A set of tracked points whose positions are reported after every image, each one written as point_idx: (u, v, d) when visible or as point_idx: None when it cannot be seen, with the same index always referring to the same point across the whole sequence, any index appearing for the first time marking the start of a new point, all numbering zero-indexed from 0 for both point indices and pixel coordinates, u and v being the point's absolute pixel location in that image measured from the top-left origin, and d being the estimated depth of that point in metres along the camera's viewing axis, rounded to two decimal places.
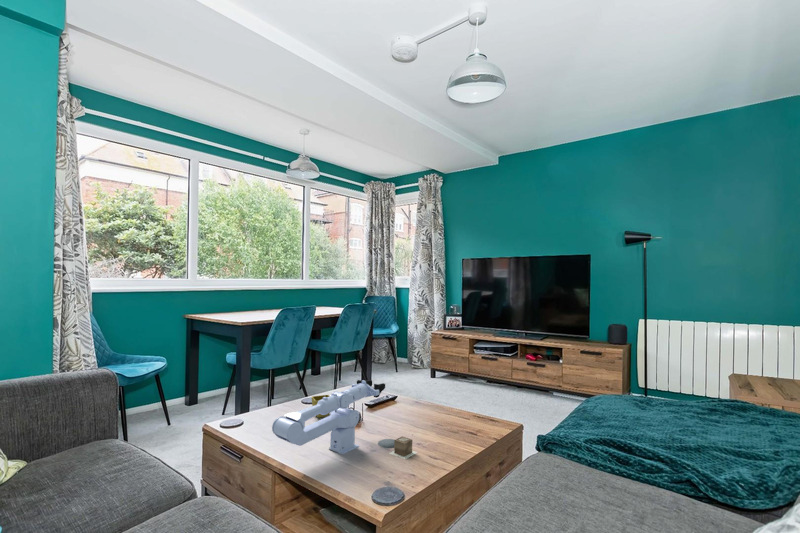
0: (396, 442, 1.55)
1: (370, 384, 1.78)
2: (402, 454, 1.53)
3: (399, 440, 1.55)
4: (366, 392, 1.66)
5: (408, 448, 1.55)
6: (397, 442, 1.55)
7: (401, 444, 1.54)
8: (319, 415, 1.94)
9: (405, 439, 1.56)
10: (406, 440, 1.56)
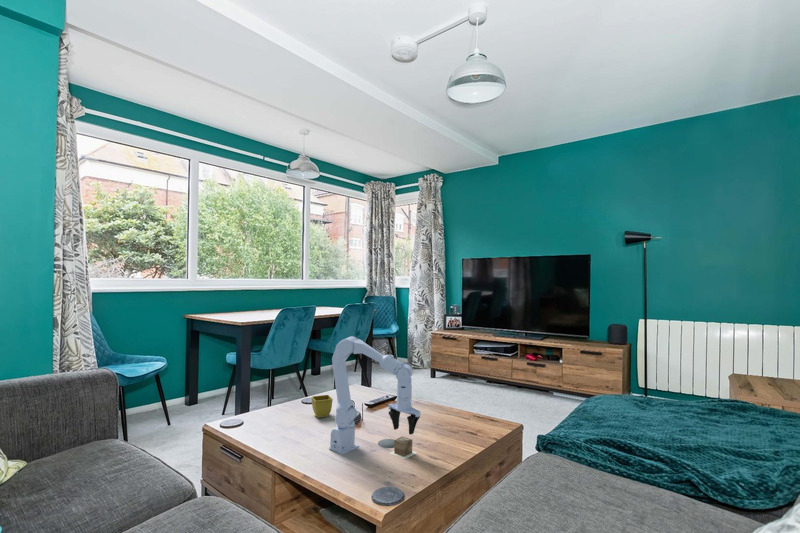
0: (396, 442, 1.55)
1: (396, 426, 1.58)
2: (402, 454, 1.53)
3: (399, 440, 1.55)
4: (409, 406, 1.55)
5: (408, 448, 1.55)
6: (397, 442, 1.55)
7: (401, 444, 1.54)
8: (319, 415, 1.94)
9: (405, 439, 1.56)
10: (406, 440, 1.56)
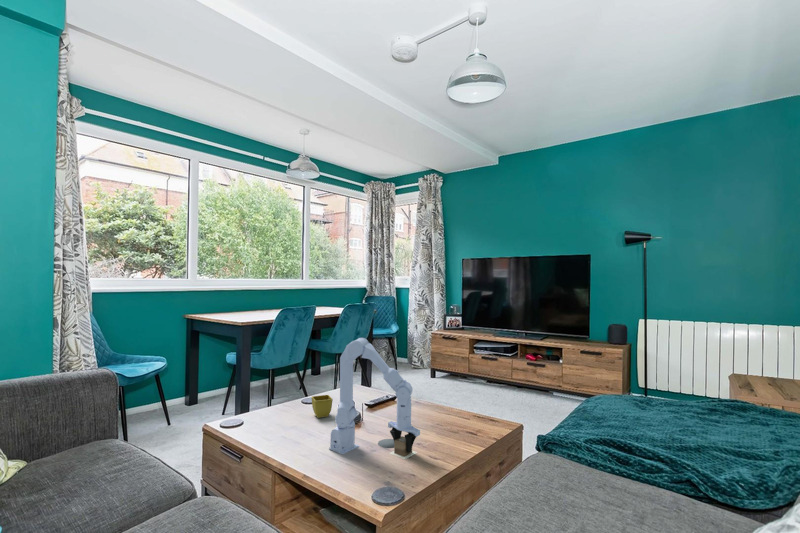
0: (396, 442, 1.55)
1: None
2: (402, 454, 1.53)
3: (399, 440, 1.55)
4: (409, 424, 1.55)
5: None
6: (397, 442, 1.55)
7: (401, 444, 1.54)
8: (319, 415, 1.94)
9: (405, 439, 1.56)
10: None
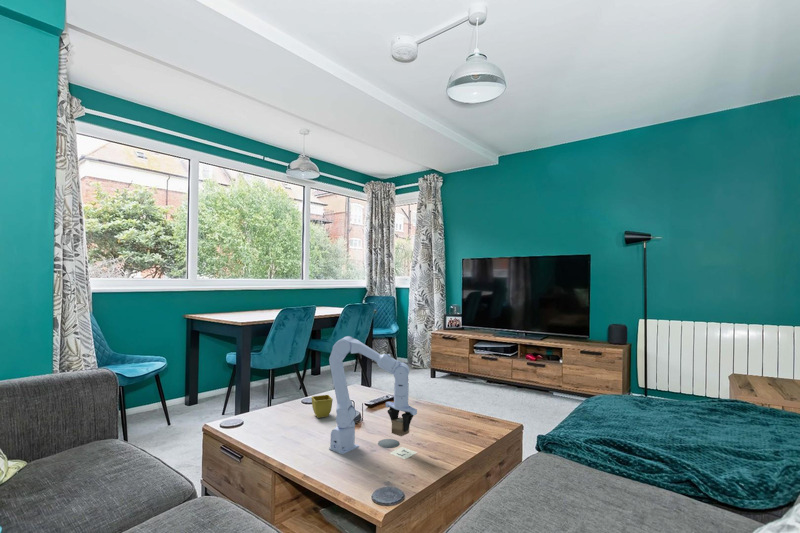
0: (393, 422, 1.57)
1: None
2: (399, 434, 1.55)
3: (396, 420, 1.57)
4: (406, 404, 1.57)
5: None
6: (394, 422, 1.57)
7: (398, 424, 1.56)
8: (319, 415, 1.94)
9: (402, 420, 1.58)
10: None
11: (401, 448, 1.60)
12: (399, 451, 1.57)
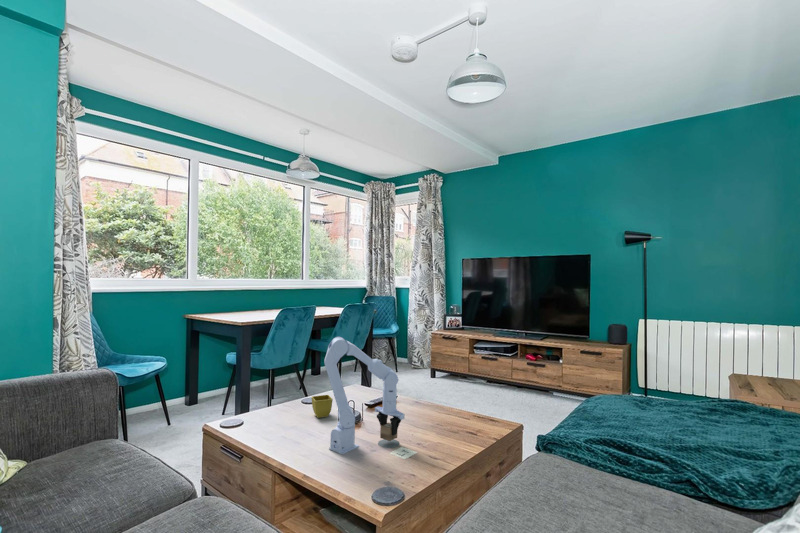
0: (382, 427, 1.64)
1: None
2: (387, 439, 1.62)
3: (385, 426, 1.64)
4: (394, 409, 1.63)
5: None
6: (382, 428, 1.64)
7: (386, 429, 1.62)
8: (319, 415, 1.94)
9: (390, 425, 1.65)
10: None
11: (401, 448, 1.60)
12: (399, 451, 1.57)
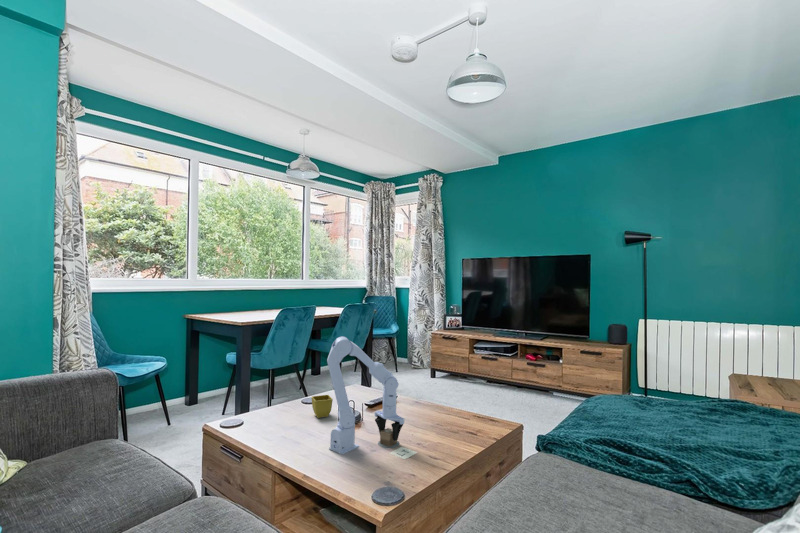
0: (382, 433, 1.64)
1: None
2: (387, 444, 1.62)
3: (385, 431, 1.64)
4: (394, 413, 1.63)
5: None
6: (382, 433, 1.64)
7: (386, 435, 1.62)
8: (319, 415, 1.94)
9: (390, 430, 1.65)
10: (391, 431, 1.64)
11: (401, 448, 1.60)
12: (399, 451, 1.57)
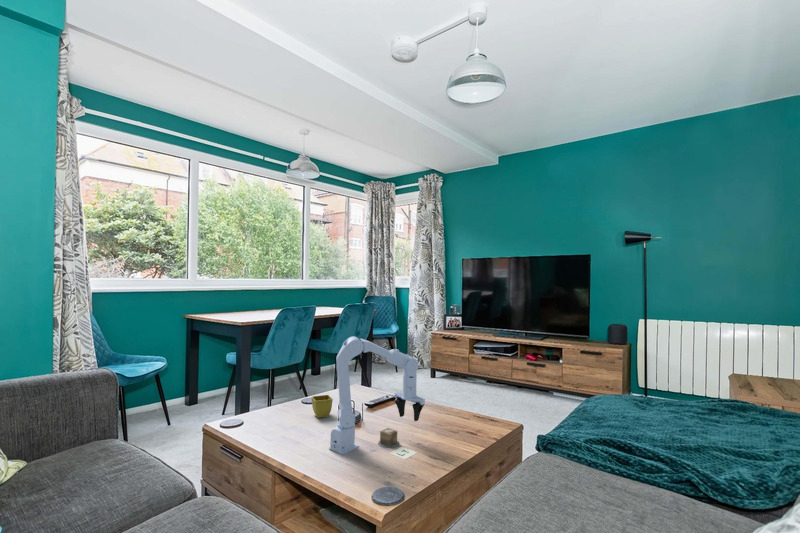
0: (382, 433, 1.64)
1: (401, 413, 1.69)
2: (387, 444, 1.62)
3: (385, 431, 1.64)
4: (414, 394, 1.66)
5: (393, 438, 1.63)
6: (382, 433, 1.64)
7: (386, 435, 1.62)
8: (319, 415, 1.94)
9: (390, 430, 1.65)
10: (391, 431, 1.64)
11: (401, 448, 1.60)
12: (399, 451, 1.57)
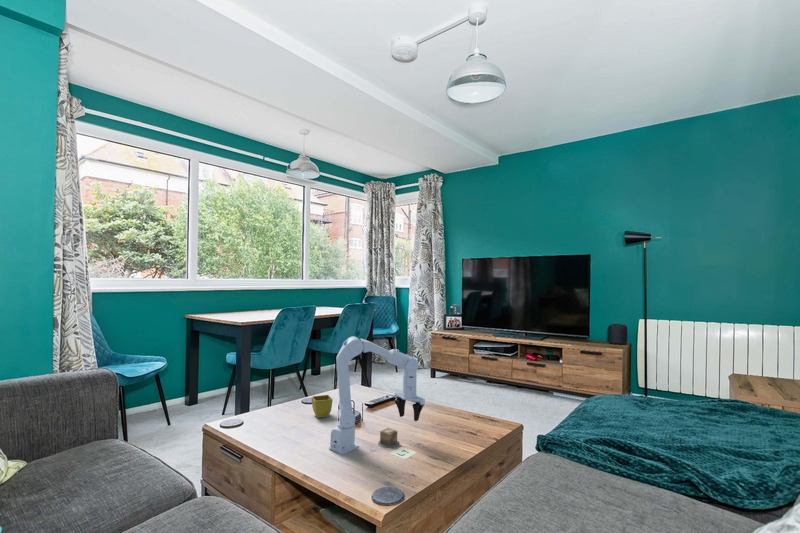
0: (382, 433, 1.64)
1: (401, 413, 1.69)
2: (387, 444, 1.62)
3: (385, 431, 1.64)
4: (414, 394, 1.66)
5: (393, 438, 1.63)
6: (382, 433, 1.64)
7: (386, 435, 1.62)
8: (319, 415, 1.94)
9: (390, 430, 1.65)
10: (391, 431, 1.64)
11: (401, 448, 1.60)
12: (399, 451, 1.57)
